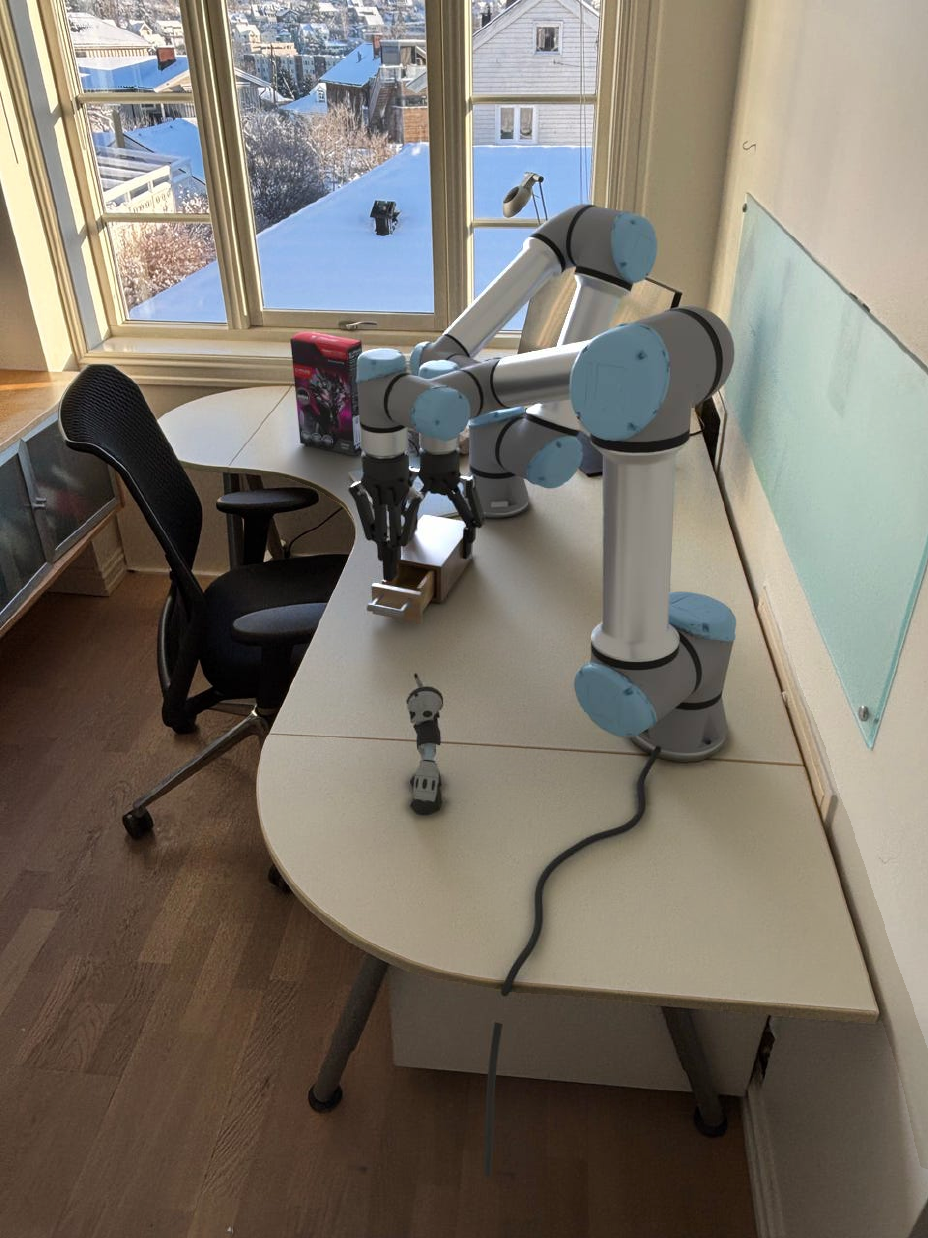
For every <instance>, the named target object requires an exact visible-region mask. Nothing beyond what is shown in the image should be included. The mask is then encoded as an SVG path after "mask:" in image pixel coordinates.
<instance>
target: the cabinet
mask: <svg viewBox="0 0 928 1238" xmlns="http://www.w3.org/2000/svg"><path fill="white" fill-rule="evenodd" d="M465 526H466V525H465V523H464V521H463V520H458V519H451V518H446V517H440V516H435V515H427V514H423V515H422V516H421V517H420V518H419V519H418V522H417V524H416V525H415V527H414V531H413V535H412V539H411V540H410V541H409V543H408V544H407V545H406V546H405V547H402V546H401V557H402V558H401V560H400V561H399V562H398V563H400V564H405V565H411V566H416V567H422V568H427V569H433V570H436V593H435V595H434V596H433V597H432V599H431V600H430V602H433V603H437V604H442V603H443V601H444V600H445V598H446V597H447V595H448V593H449V592H450V591H451V590H452V588H453V587H454V585H455V584H456V583H457V581H458V579H459V578H460V576H461V575H462V574H463V572H464V571H465V569H466V567H467V566H468V565H469V563H470V562H471V561H472V559H473V553H474V552H473V551H474V550H473V547H474V546H473V545H474V542H473V543H471V554H470V555H469V556H468V558H467V559H463V529H464V527H465Z"/></svg>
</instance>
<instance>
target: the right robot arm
mask: <svg viewBox="0 0 928 1238" xmlns="http://www.w3.org/2000/svg"><path fill="white" fill-rule="evenodd" d="M734 361H735V343H734V339H733V337H732V333H731V331H730V330H729V328H728V326H727V325H726V323H725V322H724V321H723V319H722V318H721V317H719V316H718V315H716V314H715V313H714V312H712V311H710V310H708V309H706V308H705V307H700V306H694V305H685V306H683V305H682V306H677V307H673V308H670V309H667V310H665V311H661V312H658V313H656V314H653V315H649V316H646V317H643V318H641V319H637V320H634V321H631V322H623V323H619V324H617V325H614V326H613V327H609V330H607V331H606V332H604V333H602V334H600V335H598V336H596V337H595V338H593V339H592V340H588V341H583V342H578V343H573V344H569V345H564V346H559V347H557V346H555V347H550V348H549V347H548V348H544V349H540V350H534V351H531V352H525V353H519V354H515V355H511V356H507V355H502V356H496V357H492V358H488V359H486V360H484V361H481V362H482V363H479V364H476V365H473V366H470V367H467V368H464V369H461V370H457V371H454V372H451V373H448V374H445V375H441V376H438V377H435V378H432V379H424V378H421V377H418V376H415V375H413V374H412V373H411V372H408V371H407V370H408V365H407V357H406V355H404V354H403V352H402V351H400V350H397V349H392V348H374V349H369V350H366V351H363V352H362V354H361V355H360V356H359V357H358V359H357V380H356V383H357V391H358V405H359V420H360V440H361V449H362V451H361V452H360V453H361V454H360V455H361V471H362V476H361V478H360V481H355V482H354V483H352V484H351V486H349V488H348V490H347V491H348V493H349V494H350V497H352V499H353V500H354V504H355V506H356V510H357V514H358V516H359V520H360V523H361V527H362V530H363V533H364V537H365V539H366V540H367V541H369V542H371V541H372V542H374V543H375V544H376V550H377V551H376V552H377V553H376V554H377V555H376V556H377V559H378V561H379V562H382V575H383V576H382V580H385V581H390V582H392V580H393V579H394V578H395V576H396V575H397V564H398V562H399V561H400V560H401V558H402V557H401V546H402V547H405V546H406V545H407V544H408V543H409V541H410V540H411V539H412V535H413V531H414V527H415V523H416V518H417V515H418V514H419V509H420V505H421V503H422V502H423V501H424V499H425V498H426V496H427V494H426V495H425V493H424V492H420V491H417V490H416V489H415V488H414V487H413V486H412V483H411V481H410V478H409V467H410V456H409V455H410V453H409V450H408V448H409V433H408V428H410V429H412V430H414V431H416V432H418V433H420V434H422V435H423V436H426V437H431V438H435V439H438V440H441V441H450V440H453V439H455V438H457V437H458V436H459V434H460V433H461V432H462V431H464V430H465V428H467V426H468V425H469V422H470V420H471V419H473V418H476V417H478V416H481V415H484V414H487V413H490V412H493V411H498V410H505V409H511V408H515V407H522V406H524V407H528V406H529V407H530V406H535V405H537V404H544V403H551V402H558V401H565V400H571V403H572V407H573V410H574V412H575V414H578V415H577V416H579V417H580V418H579V420H578V421H579V422H578V423H579V424H581V426H582V427H583V428H584V429H585V430H586V432H588V433H589V441H590V444H591V445H592V447H594V448H595V449H596V450H597V452H599V453H600V454H601V455H602V621H601V622H599V623H598V624H597V625H596V626H595V627H594V628H593V629H592V632H591V636H590V660H589V661H588V663H584V664H583V665H582V666H581V667H580V668H579V670H578V671H577V672H576V674H575V676H574V681H573V689H574V693H575V696H576V699H577V702H578V703H579V706H580V707H581V709H582V710H583V712H584V713H585V714H586V715H587V716H588V718H589V719H590V721H592V723H594V724H595V725H596V726H597V727H598V728H600V729H601V730H603V731H605V732H606V733H608V734H610V735H613V736H615V737H619V738H630V739H631V741H632V742H634V744H636V745H637V746H638V747H639V748H640V749H641V750H643V751H645V752H646V753H648V754H650V756H649V759H648V760H647V761H646V763H645V765H644V767H643V768H642V769H641V772H640V774H639V777H638V780H637V785H636V786H637V787H636V788H637V798H638V801H637V802H638V807H637V808H638V809H637V811H636V813H635V815H634V816H633V817H632V818H631V819H630V820H628V821H627V822H626V823H624V824H622V825H619V826H617V827H614V828H610V829H607V830H604V831H601V832H596V833H594V834H591V835H589V836H587V837H585V838H583V839H581V840H580V841H578V842H577V843H575V844H574V845H572V846H571V847H569V848H567V849H566V850H564V851H563V852H561V853H560V854H558V855H557V856H556V857H555V858H554V859H552V861H550V863H549V864H548V865H547V866H546V867H545V869H544V870H543V872H542V873H541V874H540V876H539V879H538V881H537V883H536V887H535V891H534V914H535V916H534V926H533V929H532V933H531V935H530V938H529V940H528V941H527V943H526V945H525V947H524V948H523V950H522V951H521V952H520V954H519V955H518V957H517V958H516V959H515V961H514V962H513V964H512V966H511V968H510V969H509V971H508V973H507V976H506V977H505V980H504V983H503V985H502V988H501V991H500V994H501V996H502V997H507V996H509V995H510V992H511V989H512V986H513V985H514V982H515V980H516V977H517V975H518V974H519V971H520V970H521V969H522V967H523V965H524V964H525V962H526V961H527V959H528V958H529V956H530V955H531V953H532V952H533V950H534V948H535V947H536V945H537V943H538V940H539V938H540V935H541V932H542V928H543V922H544V921H543V918H544V907H543V892H544V887H545V885H546V883H547V880H548V878H549V877H550V875H551V874H552V873H553V871H555V869H556V868H557V867H558V866H560V865H561V864H562V863H563V862H564V861H566V860H567V859H568V858H570V857H571V856H573V855H575V854H576V853H578V852H579V851H581V850H583V849H584V848H586V847H588V846H589V845H591V844H593V843H595V842H598V841H601V840H604V839H608V838H611V837H614V836H617V835H620V834H623V833H625V832H627V831H628V832H629V830H631V829H632V828H634V827H635V826H637V824H639V823H640V821H641V820H642V818H643V816H644V814H645V810H646V795H645V782H646V778H647V776H648V773H649V772H650V770H651V769H652V767H653V765H654V764H655V762H656V761H657V759H658V758H659V759H662V760H666V761H670V762H675V763H694V762H700V761H703V760H706V759H709V758H711V757H714V755H716V754H718V752H720V751H721V750H722V748H723V747H724V744H725V743H726V740H727V739H726V738H727V734H728V721H727V716H726V712H725V708H724V707H725V706H724V701H723V692H724V686H725V682H726V678H727V674H728V669H729V664H730V659H731V654H732V651H733V647H734V642H735V640H736V636H737V635H736V627H737V617H736V616H735V614H734V613H733V611H732V609H731V608H730V607H729V606H727V605H726V604H725V603H723V602H722V601H720V600H719V599H717V598H714V597H712V596H708V595H707V594H702V593H698V592H691V591H672V592H671V576H672V575H671V574H672V573H671V572H672V553H673V551H672V550H673V528H674V505H675V484H676V483H675V482H676V481H675V479H676V461H677V459H676V457H677V454H678V452H680V451H681V450H682V449H683V448H684V447H686V446H687V445H688V443H689V441H690V438H691V437H690V436H691V425H692V424H691V422H692V421H691V420H692V408H693V407H695V406H698V405H700V404H702V403H704V402H705V401H707V400H708V399H711V398H712V397H713V396H714V395H715V394H717V393H718V392H719V391H720V390H721V388H723V386H724V385H725V384H726V382H727V380H728V378H729V377H730V374H731V373H732V369H733V366H734ZM407 494H408V496H409V498H408V501H407V504H409V505H408V507H407V508H408V509H407V513H406V518H404V521H403V522H404V523H403V527H402V515H401V505H402V500H403V498H404V497H405V496H406V495H407ZM369 497H370V498H371V501H372V504H371V503H370V498H369ZM371 505H372V507H371ZM372 509H373V510H372ZM502 1030H503V1023H500V1022H494V1025H493V1031H492V1038H491V1043H490V1045H491V1046H490V1053H489V1061H488V1071H487V1083H486V1084H487V1085H486V1107H485V1108H486V1109H485V1112H486V1113H485V1149H484V1150H485V1153H484V1172H483V1173H484V1176H485V1177H491V1175H492V1168H493V1147H494V1146H493V1145H494V1118H495V1117H494V1116H495V1115H494V1114H495V1092H496V1091H495V1090H496V1079H497V1078H496V1077H497V1068H498V1067H497V1066H498V1059H499V1058H498V1057H499V1051H500V1043H501V1037H502V1036H501V1035H502Z"/></svg>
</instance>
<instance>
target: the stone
mask: <svg viewBox="0 0 928 1238" xmlns="http://www.w3.org/2000/svg"><path fill="white" fill-rule="evenodd" d="M408 434H410V435H411V437H412V438H415V439H418V440H419V433H418V432H416V431H414V430H412V429H410V428H408ZM459 449H460V454H463V455H469V428H467V427H466V428H465V430H464V431H462V432H461V433H460V445H459Z"/></svg>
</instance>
